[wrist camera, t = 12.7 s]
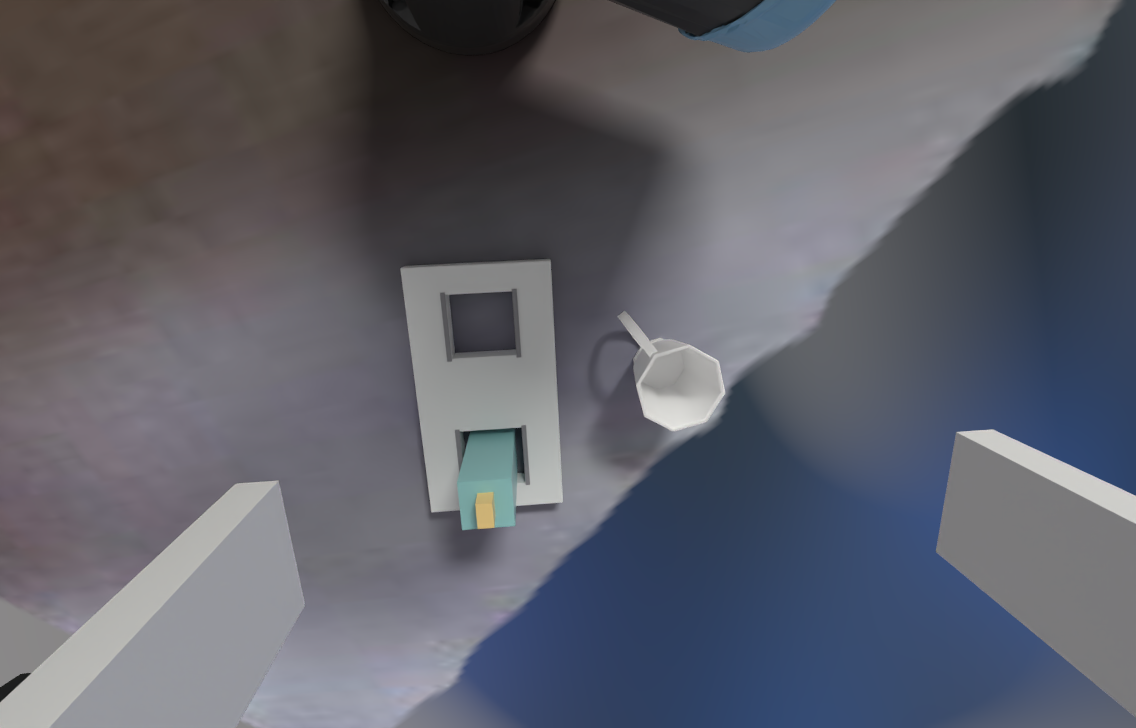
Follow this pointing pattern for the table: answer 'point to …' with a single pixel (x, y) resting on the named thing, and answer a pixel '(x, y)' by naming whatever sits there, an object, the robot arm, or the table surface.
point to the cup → (674, 380)
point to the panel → (485, 375)
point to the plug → (488, 480)
